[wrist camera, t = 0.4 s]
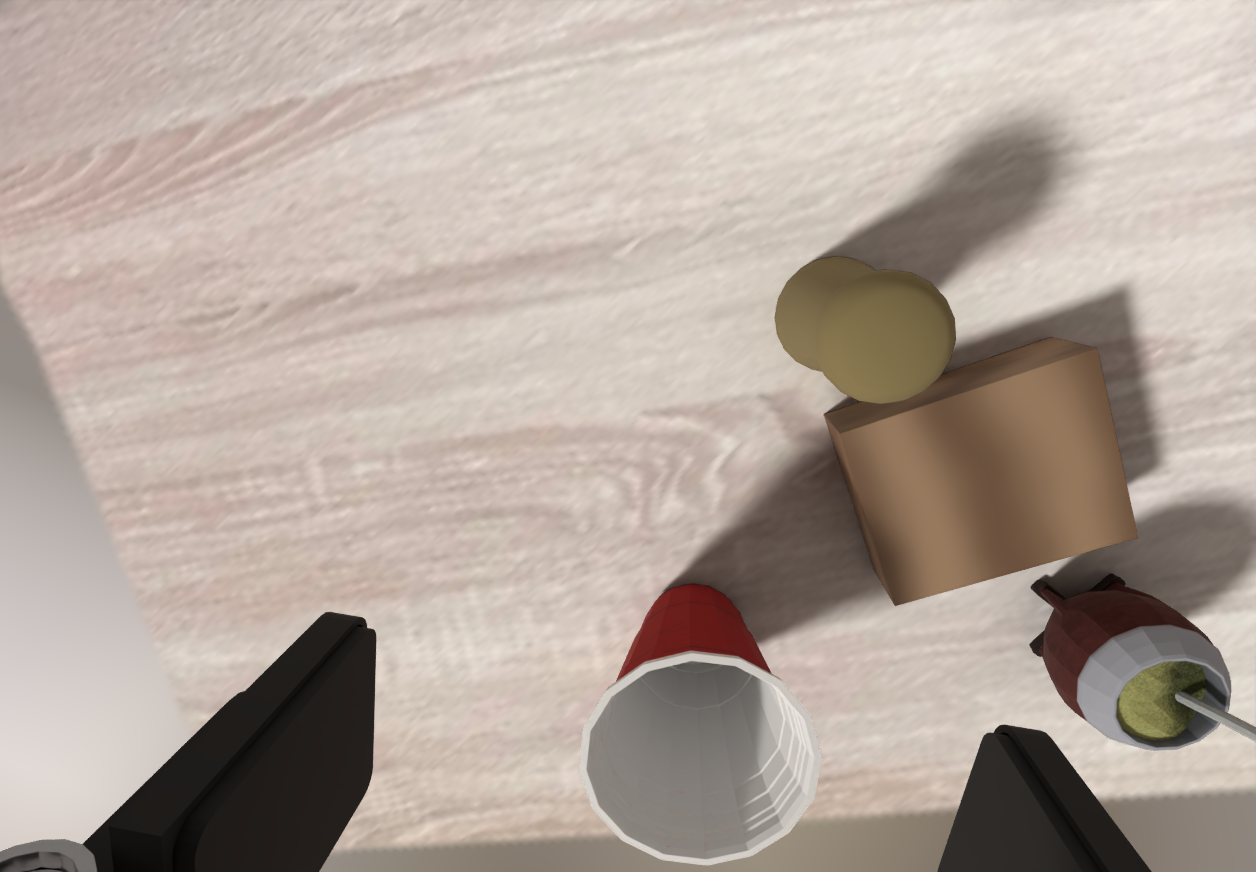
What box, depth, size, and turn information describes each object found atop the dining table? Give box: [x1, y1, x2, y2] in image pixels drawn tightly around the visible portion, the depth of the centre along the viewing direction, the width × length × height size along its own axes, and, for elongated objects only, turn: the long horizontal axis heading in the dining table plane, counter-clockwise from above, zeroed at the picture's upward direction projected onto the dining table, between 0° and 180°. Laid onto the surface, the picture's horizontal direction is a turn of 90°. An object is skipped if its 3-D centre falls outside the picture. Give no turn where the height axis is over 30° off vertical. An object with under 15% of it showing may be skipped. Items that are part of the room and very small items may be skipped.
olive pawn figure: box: [775, 256, 956, 404], centre depth 29 cm, size 6×6×11 cm
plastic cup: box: [579, 584, 822, 865], centre depth 35 cm, size 11×11×12 cm
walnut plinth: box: [824, 337, 1138, 606], centre depth 34 cm, size 12×10×4 cm
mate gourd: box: [1029, 574, 1256, 751], centre depth 31 cm, size 8×8×15 cm
